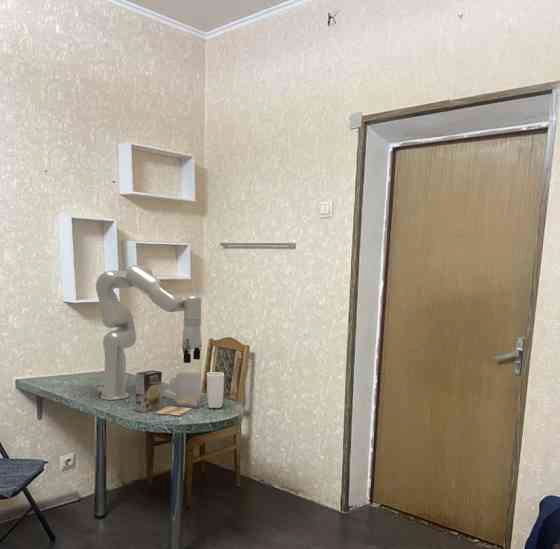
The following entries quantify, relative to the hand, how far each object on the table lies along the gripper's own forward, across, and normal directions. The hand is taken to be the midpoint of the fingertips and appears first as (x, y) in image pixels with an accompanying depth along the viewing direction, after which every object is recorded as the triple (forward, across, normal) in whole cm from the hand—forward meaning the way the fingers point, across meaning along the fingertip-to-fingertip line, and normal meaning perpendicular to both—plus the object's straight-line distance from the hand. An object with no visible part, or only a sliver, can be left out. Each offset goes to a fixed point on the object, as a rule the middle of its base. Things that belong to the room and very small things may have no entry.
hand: (192, 361), depth 219 cm
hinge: (+20, -11, -12) cm, 26 cm away
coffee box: (+20, +13, -14) cm, 28 cm away
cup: (+20, +1, +12) cm, 23 cm away
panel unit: (+20, +3, 0) cm, 20 cm away
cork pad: (+20, +14, -2) cm, 24 cm away
